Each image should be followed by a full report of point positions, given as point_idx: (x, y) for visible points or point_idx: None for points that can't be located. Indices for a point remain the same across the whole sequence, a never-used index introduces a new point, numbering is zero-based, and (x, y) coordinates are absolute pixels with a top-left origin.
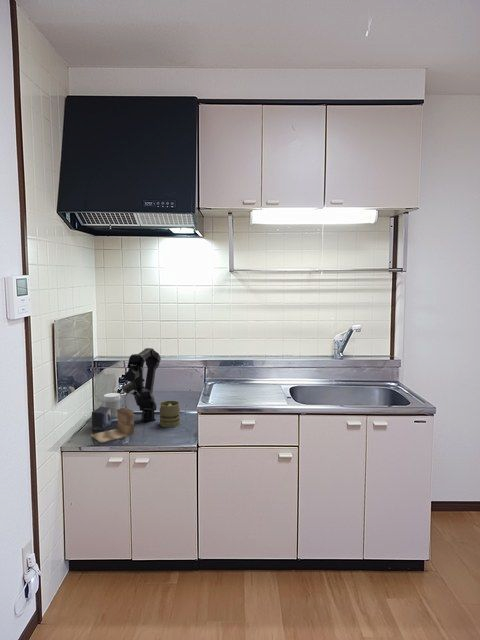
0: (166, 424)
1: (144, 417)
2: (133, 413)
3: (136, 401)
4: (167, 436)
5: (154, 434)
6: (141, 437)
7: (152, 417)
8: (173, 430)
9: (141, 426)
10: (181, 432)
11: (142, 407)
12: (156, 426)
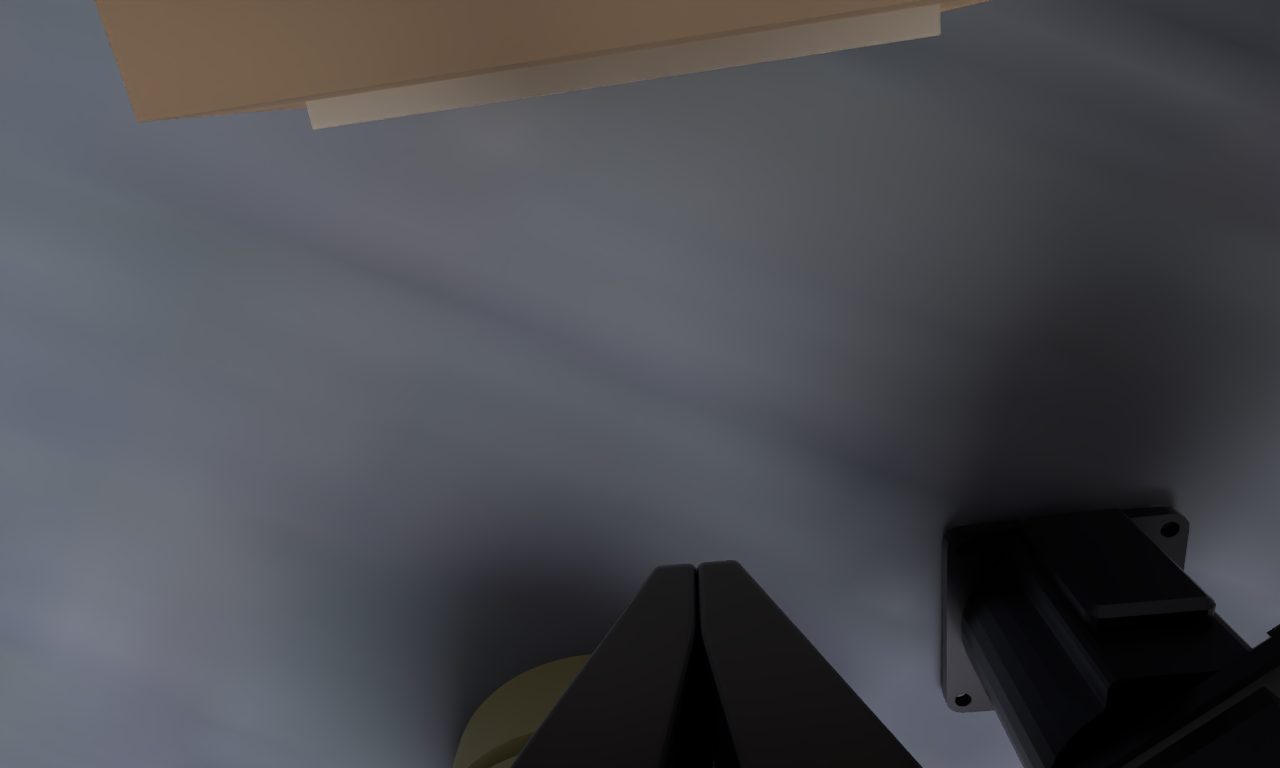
0: (481, 731)
1: (1048, 572)
2: (209, 114)
3: (720, 711)
4: (39, 546)
5: (216, 412)
6: (131, 140)
7: (987, 694)
8: (293, 713)
9: (789, 376)
10: (156, 760)
11: (1207, 726)
12: (624, 590)
